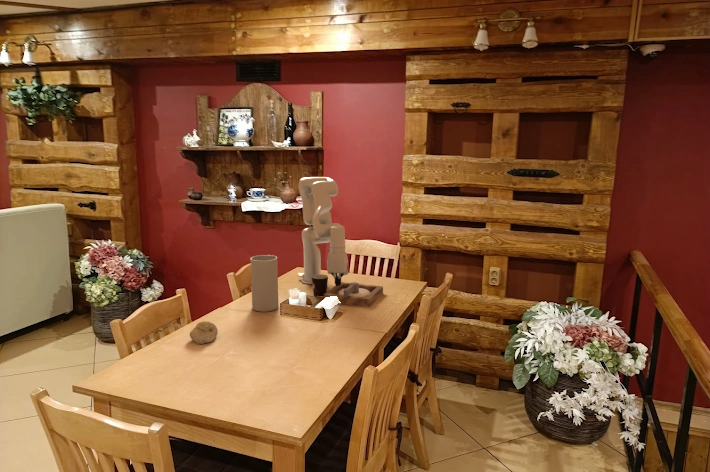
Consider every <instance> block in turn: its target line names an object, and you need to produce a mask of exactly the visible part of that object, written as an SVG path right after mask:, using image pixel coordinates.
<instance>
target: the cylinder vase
mask: <svg viewBox="0 0 710 472" xmlns="http://www.w3.org/2000/svg"><path fill="white" fill-rule="evenodd" d="M278 276H279V274H278V256H276V255H273V254H272V255H270V254H261V255H254V256H251V257H250V277H251V278H250V280H251V282H250V283H251V303H252V304H251V305H252V307H251V308H252V309H253V310H254V311H255V312H260V313H268V312H272V311H275V310H277V309H278V308H279V282H278V281H279V277H278Z"/></svg>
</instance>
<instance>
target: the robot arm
mask: <svg viewBox="0 0 710 472" xmlns="http://www.w3.org/2000/svg"><path fill="white" fill-rule="evenodd" d="M298 192H299V194H300V197H301V203H302V217H303V222H304V224H305V225H309V226H310V227H306V228H304V229H303V230H302V231H301V240H302V245H303V246H302V247H303V273H302V272H298V275H297V277H298V278H301V282H302V283H303V284H307V285H313V283H312V276H313V275H319V274H322V273H321V271H322V270H321V269H322V268H321V262H322V261H321V250H320V248H319V247H318V244H326V243H329V246H327V250H328V251H329V252H327V253H328V254H327V258H326V259H327V261H326V271H327V274H328V275H331V276H332V277H333V279H334V285H335V286H340V285H341V282H342V277H343V276H347V275H349V260H348V254H347V252H346V230H345V229H346V227H345V226H344V225H341V224H340V223H338V222H335V223H334V222H333V223H332V214H331V211H330V210H332V208H333V203H332V200H331V199H332V198H331V197H336V196H338V194H339V186H338V184H337V181H335V180H334V179H332V178H331V177H327V176H310V177H307V176H306V177H302V178H300V179H299V181H298ZM335 286H334V287H335Z"/></svg>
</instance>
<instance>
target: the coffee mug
mask: <svg viewBox="0 0 710 472" xmlns="http://www.w3.org/2000/svg"><path fill="white" fill-rule="evenodd" d="M328 279H329V276H328V275H327V274H322V273H321V274H319V275H313V276H312V283H313V284H312V289H313V295H315V296H314V297H317V296H323V297H324V294H325V293H326V292H328V291H327V290H328V283H329V282H328Z"/></svg>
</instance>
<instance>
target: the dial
mask: <svg viewBox="0 0 710 472" xmlns="http://www.w3.org/2000/svg"><path fill="white" fill-rule="evenodd" d="M348 283H349V287H347V288H346V289H342V290H340V291H339V295H344V296H345V297H347V296H357V297H367V296H368V295H369V294H370V292H369V291H368V290H366V289H363V288H359V284H360V283H359V282H348Z"/></svg>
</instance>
